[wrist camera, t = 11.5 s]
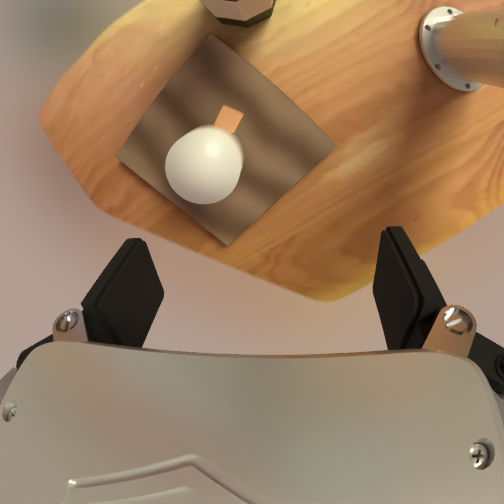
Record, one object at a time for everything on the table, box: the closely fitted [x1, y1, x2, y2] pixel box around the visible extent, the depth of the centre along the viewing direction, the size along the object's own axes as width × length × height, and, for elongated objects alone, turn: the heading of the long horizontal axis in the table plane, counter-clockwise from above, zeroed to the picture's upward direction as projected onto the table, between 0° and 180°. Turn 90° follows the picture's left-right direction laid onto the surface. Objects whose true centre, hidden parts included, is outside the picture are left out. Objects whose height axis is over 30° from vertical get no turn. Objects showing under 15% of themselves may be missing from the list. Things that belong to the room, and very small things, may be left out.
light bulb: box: [165, 105, 245, 204], centre depth 27 cm, size 7×9×5 cm
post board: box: [116, 34, 337, 246], centre depth 32 cm, size 20×20×6 cm
